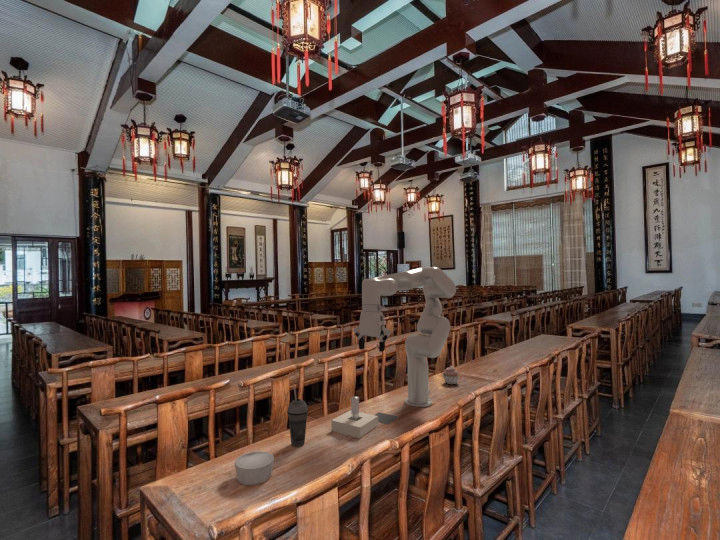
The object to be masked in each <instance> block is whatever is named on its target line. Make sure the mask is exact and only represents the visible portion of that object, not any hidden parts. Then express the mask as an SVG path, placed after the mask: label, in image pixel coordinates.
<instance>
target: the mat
mask: <svg viewBox="0 0 720 540" xmlns="http://www.w3.org/2000/svg"><path fill="white" fill-rule="evenodd" d="M374 415H375V416H378V424H383V425H390V424H391V423H393V422H394V421H396V420H397V419H398V418H399V419H400V416H399V415H394V414H388V413H384V412H380V411H378V412H377V413H375V414H374Z"/></svg>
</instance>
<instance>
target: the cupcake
mask: <svg viewBox="0 0 720 540" xmlns="http://www.w3.org/2000/svg"><path fill="white" fill-rule="evenodd" d="M441 375H442V377H443V379H444V383H445V384H446V383H447V384H446V385H448V384H451V385H450V386H453V385H452V384H456V385H458V382H459V378H460V376H461V375H460V374H459V372H458V370H457V369H456V368H455V367H454V366H453V365H449V367H446V368H445V369H444V371H443V373H442V374H441Z"/></svg>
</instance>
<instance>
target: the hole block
mask: <svg viewBox="0 0 720 540" xmlns="http://www.w3.org/2000/svg"><path fill="white" fill-rule="evenodd" d="M378 426H379V423H378V416H375V414H370V413H366V412H362V411H359V420H358V421H354V420H351V409H350V410H348V411H347V412H346V411H345V412H344V413H343V414H341V415H339V416H337V417H335V418H333V419H331V431H332V432H335V433H338V434H342V435H344V436H345V435H346V436H349V437H354V438H358V439H362V438H363V436H364V435H366V434H368V433H369V432H371V431H372V430H373V429H375V428H376V427H378Z"/></svg>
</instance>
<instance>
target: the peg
mask: <svg viewBox="0 0 720 540" xmlns="http://www.w3.org/2000/svg"><path fill="white" fill-rule="evenodd" d="M350 403H351V404H350V407H351V408H350V410H351V420H354V421H358V420H359V412H360V397H359V396H357V395H354V396H351V397H350Z"/></svg>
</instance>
